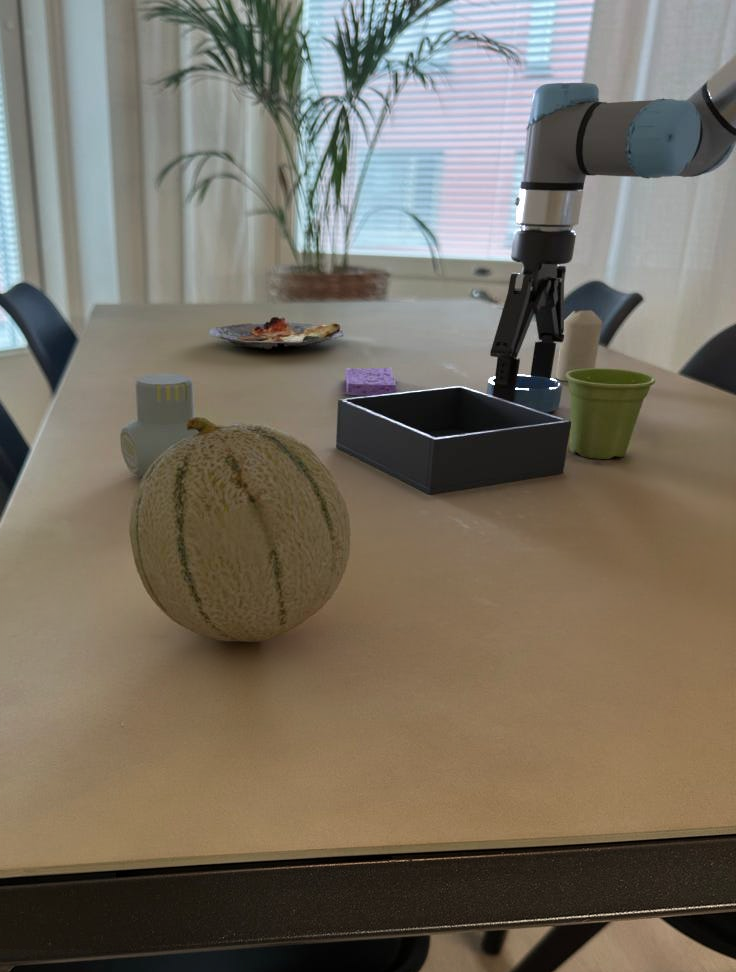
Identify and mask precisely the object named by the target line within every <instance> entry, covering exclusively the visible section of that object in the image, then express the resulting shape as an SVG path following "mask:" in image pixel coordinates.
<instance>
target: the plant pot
mask: <svg viewBox="0 0 736 972" xmlns="http://www.w3.org/2000/svg"><path fill="white" fill-rule="evenodd" d="M566 379H567V380H569V381H568V392H569V393H570V421H571V428H570V434H569V450H570V452H571V453H573V454H575V453H577V454H579V455H580V456H581V457H584V458H586V459H599V460H610V459H612V458H614V457H617V458H622V457H624V456H626V454H627V452H628V448H629V445H630V442H631V439H632V436H633V433H634V429H635V427H636V424H637V422H638V419H639V415H640V412H641V409H642V406H643V403H644V399H645V398H647V396H648V394H649V391H650V388H651V386H653V385H654V384H655V383H656V378H655V376H653V375H652V374H648V373H645V372H640V371H635V370H634V371H633V370H628V369H622V368H621V369H620V368H608V367H607V368H603V367H602V368H599V367H598V368H597V367H595V368H591V369H579V370H573V371H570V372H567V373H566Z"/></svg>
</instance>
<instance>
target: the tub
mask: <svg viewBox="0 0 736 972" xmlns="http://www.w3.org/2000/svg"><path fill="white" fill-rule="evenodd" d="M336 412H337V413H336V415H337V416H336V434H335V435H336V437H335V438H336V440H335V448H337V449H338V450H341V451H342V452H344V453H346V454H348V455H351V456H353V457H354V458H356V459H358V460H360V461H362V462H364V463H366V464H368V465H370V466H372V467H374V468H376V469H378V470H380V471H382V472H383V473H386V474H388V475H390V476H392V477H394V478H396V479H398V480H400V481H402V482H404V483H406V484H408V485H410V486H411V487H414V488H416V489H418V490H420V491H422V492H424V493H426V494H427V495H436V494H442V493H446V492H447V493H448V492H454V491H455V492H456V491H461V490H467V489H473V488H479V487H485V486H491V485H498V484H505V483H509V482H517V481H522V480H529V479H535V478H540V477H541V478H542V477H548V476H554V475H561V474H564V471H565V464H566V459H567V451H568V446H569V441H570V428H571V420H568V419H565V418H562V417H559V416H556V415H552V414H550V413H544V412H541V411H538V410H535V409H531V408H528V407H525V406H522V405H519V404H516V403H513V402H510V401H507V400H503V399H500V398H497V397H494V396H491V395H488V394H487V393H485V392H482V391H478V390H476V389H473V388H469V387H466V386H462V385H456V386H448V387H438V388H430V389H421V390H412V391H403V392H395V393H392V394H383V395H374V396H356V397H346V398H339V399H337V411H336Z"/></svg>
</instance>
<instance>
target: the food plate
mask: <svg viewBox="0 0 736 972" xmlns="http://www.w3.org/2000/svg"><path fill="white" fill-rule="evenodd" d="M207 334H208V335H210V336H212V337H214V338H217V339H221V340H223V341H225V340H226V341H228V342H229V343H231V344H232V345H235V346H240V347H246V348H251V349H252V348H260V349H265V350H272V348H273V347H276V348H277V347H278V345H283V346H284V347H288V346H289V347H293V346H294V347H299V346H301V347H302V346H307V345H309V344H311V343H312V344H313V343H315V344H318V345H320V344H321V343H322V342H325V341H330V340H331V339H337V338H342V337H344V333H343V330H341V325H340V324H338V323H335V322H333V323H332V322H331V323H330V324H323V325H321V324H311V323H297V322H296V323H295V322H294V323H293V322H286V318H285V317H284V316H283V317H281V318H280V317H278V316H273V317H271V318H270V320H269V321H266V322H263V323H249V322H248V323H241V324H240V323H239V324H232V325H225V326H221V327H219V326H217V327H214V328H210V329H209V330H208V332H207Z"/></svg>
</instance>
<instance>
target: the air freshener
mask: <svg viewBox="0 0 736 972" xmlns="http://www.w3.org/2000/svg"><path fill="white" fill-rule="evenodd" d="M134 383H135V400H136V401H135V402H136V403H135V404H136V419H133V420H132V421H130V422H129V423H127V424H126V425H125V426H124V427H122V429H121V431H120V434H119V435H120V436H119V440H120V441H119V443H120V449H121V455H122V457H123V460H124V463H125V465H126V467H127V468H128V471H130V472H131V473H132V474H134V475H136V476H138V477H140V478H141V479H142V478H143V476H144V475H145V474H146V472H147V470H148V468H149V467H150V466H151V465H152V464H153V462H154V461H155V460H156V459H157V458H158V457H159V456H160V455H161V454H162V453H163V452H165V451H166V450H167V449H168V448H169V447H171V446H173V445H174V444H176V443H178V442H179V441H181V440H183V439H185V438H187V437H190V436H192V435H194V434H196V433H198V432H199V431H198V430H187V423H188V421H189V420H190V419H191V418H195V403H194V380H193V379H191V378H190V377H189V375H184V374H180V373H179V374H177V373H154V374H147V375H143V376H140V377H139V378H138V379H136V381H135V382H134Z"/></svg>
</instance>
